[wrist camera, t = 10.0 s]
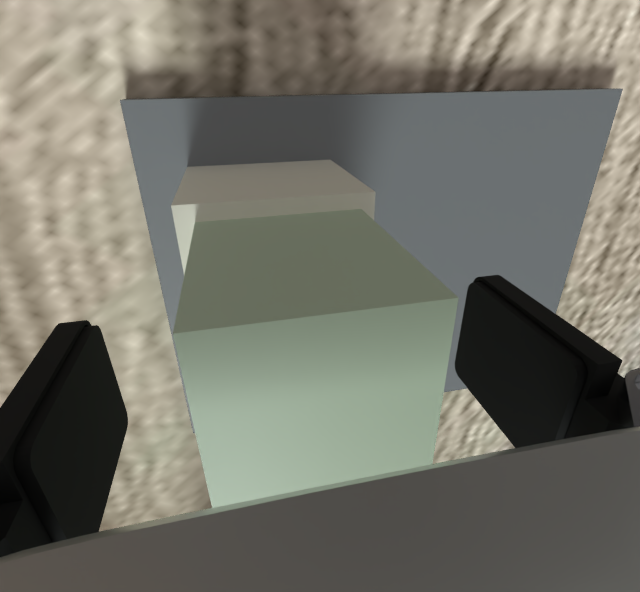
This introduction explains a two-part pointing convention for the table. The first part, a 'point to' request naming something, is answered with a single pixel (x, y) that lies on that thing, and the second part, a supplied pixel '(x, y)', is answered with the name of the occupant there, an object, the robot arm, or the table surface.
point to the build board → (383, 176)
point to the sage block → (309, 352)
